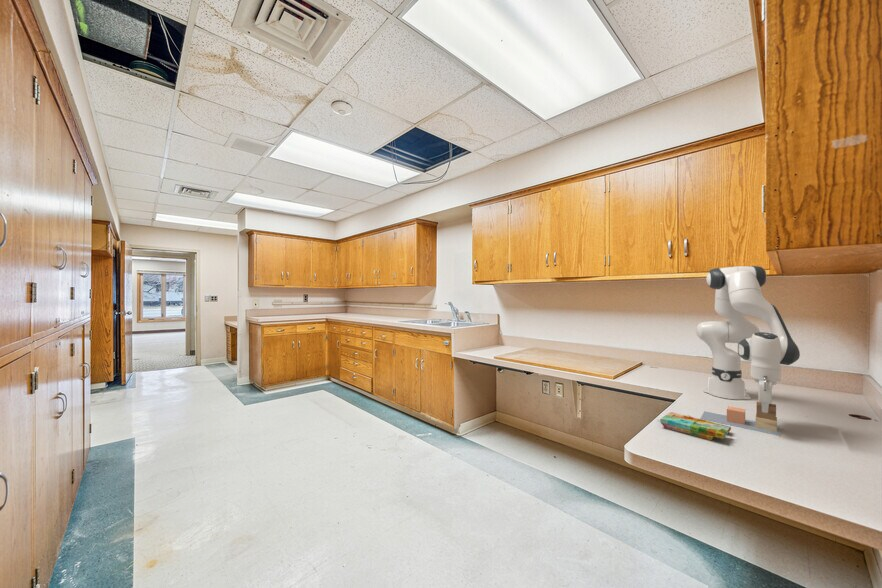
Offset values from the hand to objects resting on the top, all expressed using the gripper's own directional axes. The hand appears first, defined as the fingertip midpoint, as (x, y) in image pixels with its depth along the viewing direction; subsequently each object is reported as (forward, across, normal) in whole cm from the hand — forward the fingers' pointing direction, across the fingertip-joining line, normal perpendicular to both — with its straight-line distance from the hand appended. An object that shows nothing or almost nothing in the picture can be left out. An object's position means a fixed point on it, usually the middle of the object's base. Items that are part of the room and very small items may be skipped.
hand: (765, 409), depth 134 cm
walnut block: (+3, 0, 0) cm, 3 cm away
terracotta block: (+7, 0, +9) cm, 11 cm away
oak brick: (+7, 0, 0) cm, 7 cm away
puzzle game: (+9, -22, +20) cm, 31 cm away
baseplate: (+8, -1, +8) cm, 11 cm away
